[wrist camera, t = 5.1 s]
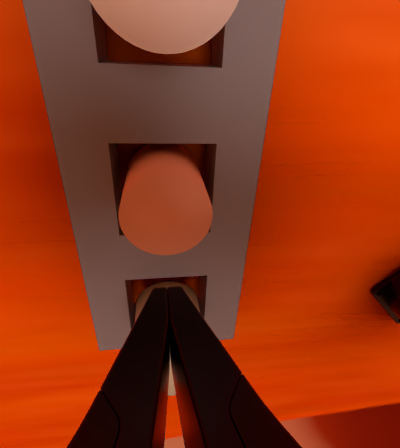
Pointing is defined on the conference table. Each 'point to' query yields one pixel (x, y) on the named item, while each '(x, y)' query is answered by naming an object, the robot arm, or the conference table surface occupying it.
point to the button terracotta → (164, 200)
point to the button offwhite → (165, 22)
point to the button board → (162, 134)
